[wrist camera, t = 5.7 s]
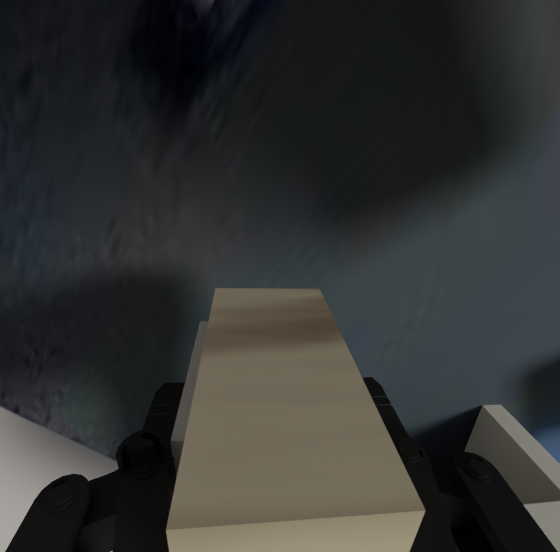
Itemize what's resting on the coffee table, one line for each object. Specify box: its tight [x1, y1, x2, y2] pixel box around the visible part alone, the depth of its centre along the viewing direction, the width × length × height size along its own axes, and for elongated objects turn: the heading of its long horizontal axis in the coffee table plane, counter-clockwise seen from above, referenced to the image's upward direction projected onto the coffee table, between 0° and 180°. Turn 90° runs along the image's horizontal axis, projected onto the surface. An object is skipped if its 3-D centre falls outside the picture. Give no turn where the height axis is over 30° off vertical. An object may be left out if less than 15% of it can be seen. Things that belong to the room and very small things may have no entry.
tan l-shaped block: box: [166, 288, 426, 552], centre depth 15 cm, size 21×5×10 cm, turn 177°
